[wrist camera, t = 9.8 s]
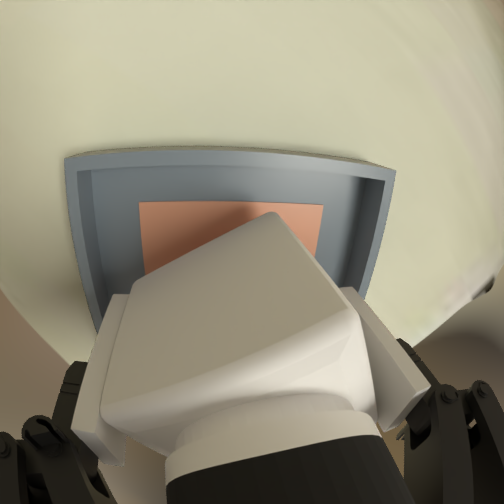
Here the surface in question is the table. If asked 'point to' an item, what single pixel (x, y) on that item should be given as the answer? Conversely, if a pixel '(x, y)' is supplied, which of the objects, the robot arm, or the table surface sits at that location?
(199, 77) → the table surface
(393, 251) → the table surface
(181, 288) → the medicine bottle
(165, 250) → the tray
